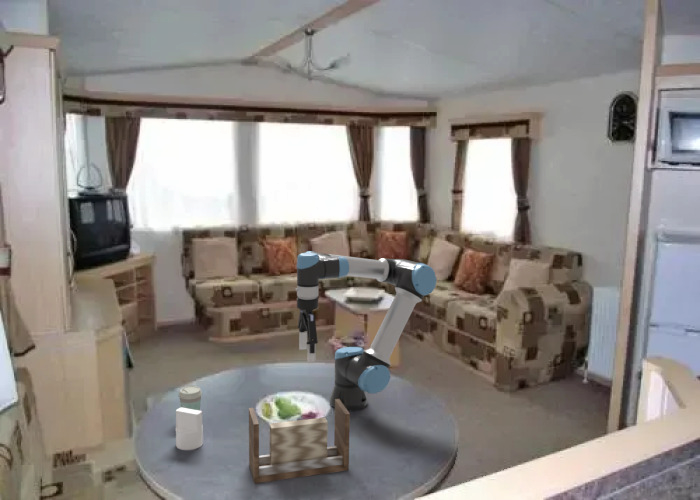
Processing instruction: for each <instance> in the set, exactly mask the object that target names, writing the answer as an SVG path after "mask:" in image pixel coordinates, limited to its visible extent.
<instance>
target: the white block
mask: <svg viewBox="0 0 700 500" xmlns="http://www.w3.org/2000/svg"><path fill="white" fill-rule="evenodd" d="M203 444H204V426H203V411H202V410H200V411H199V410H193V409H188V408H182V407H181V406H180V407H179V408H177V409H176V410H175V445H176V446H175V447H176V448H177V449H179V450H181V451H194V450H196V449H199V448H200V447H202V445H203Z"/></svg>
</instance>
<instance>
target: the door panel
mask: <svg viewBox="0 0 700 500" xmlns="http://www.w3.org/2000/svg"><path fill="white" fill-rule="evenodd" d="M328 424H329V423H328V420H327V419H326V417H316V418H310V419H309V418H308V419H299V420H291V421H281V422H273V423H269V454H270V465H275V464H282V463H290V462H297V461H305V460H312V459H320V458H327V447H328V431H329V430H328Z"/></svg>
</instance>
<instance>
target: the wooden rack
mask: <svg viewBox="0 0 700 500" xmlns="http://www.w3.org/2000/svg"><path fill="white" fill-rule="evenodd" d="M350 418H351V414H350V411H348V410H347V409H346V408H345V406H344V405H343V403H342V402H341V401H340V399H335V408H334V435H333V436H334V437H333V438H334V440H333V441H334V442H333V443H334V444H333V446H327V458H320V459H312V460H305V461H297V462H290V463H282V464H275V465H270V453H269V454H263V455H260V423H259V420H258V417H257V414H256V411H255V408H254V407H248V464H249V468H250V473H251V475H252V480H253V484H260V483H268V482H275V481H281V480H290V479H297V478H301V477H309V476H317V475H322V474H323V475H325V474H332V473H339V472H344V471H345V472H346V471H349V470H350V428H351V425H350V422H351V419H350Z"/></svg>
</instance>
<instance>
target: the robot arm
mask: <svg viewBox="0 0 700 500" xmlns="http://www.w3.org/2000/svg"><path fill="white" fill-rule="evenodd" d="M296 259H297V260H296V287H297V288H296V287H295V288H294V289H295V291H296V296H297V297H296V308H297V309H298V310H299V316H298V323H297V329H298V332H299V333H298V334H299V335H298V336H299V337H298V339H299V340H298V343H299V344H298V347H299V348H298V350H299V351H303V350H307V354H306V355H307V356H306V357H307V360H306V361H307V363H314V362H316V358H317V357H316V352H317V351H316V350H317V349H316V348H317V344H318V333H317V323H316V318H317V317H316V314H315V313H314V312H313V311H314V310H317V309H318V308H319V298H318V297H319V280H325V279H326V280H327V279H340V278H345V277H355V278H357V277H358V278H365V279H374V280H376V281H377V282H380V283H385V284H389V285H392V286H394V290H395V296H394V298H393V300H392V302H391V303H390V306H389V308H388V309H387V312H386V313H385V316H384V318H383V321H382V322H381V324H380V326H379V328H378V330H377V333H376V334H375V337H374V339H373V340H372V342H371V345H370V347H369V348H367V349H363V348H362V347H360V346H347V347H341V348H337V350H336V351H335V353H334V386H333V388H332V392H331V394H330V398H329V404H331V405H332V406H333V407H332V406H331V405H330V406H331V407H332V408H334V407H335V399H340V401H341V402H342V403H343V405H344V406H345V408H346V409H347V410H353V411H358V410H357V409H359V410H362V409H364V408H366V406H367V405H368V397H367V394H370V395H371V394H372V395H373V394H378V393H381V392H383V391H384V390H385V389H386V388H387V386H388V385H389V383H390V381H391V372H390V370H389V369H390V367H391V365H392V364H391V360H390V358H391V355H392V354H393V352H394V349H395V347H396V345H397V343H398V341H399V339H400V337H401V335H402V333H403V331H404V329H405V327H406V325H407V323H408V321H409V319H410V317H411V315H412V313H413V312H414V308H415V307H416V304H418V303H420V302H422V301H423V299H424V297H425V296H428V295H430V294H432V292H434V290H435V288H436V286H437V276H436V272H435V270H434V268H432V267H431V266H430V265H428V264H426V263H423V262H418V261H412V260H408V259H404V258H401V259H400V258H379V259H378V260H377V259H369V258H362V257H354V256H349V255H347V256H346V255H339V254H338V255H337V254H330V253H323V252H317V251H313V250H311V251H310V250H308V251H305V252H302V253H299V254H298V255H297V258H296ZM366 393H367V394H366ZM363 407H364V408H363ZM361 408H362V409H361Z"/></svg>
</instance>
